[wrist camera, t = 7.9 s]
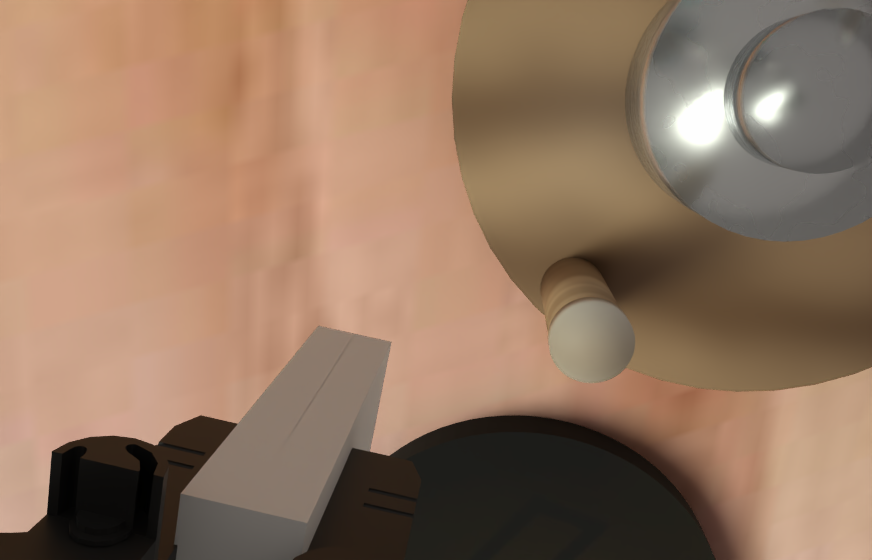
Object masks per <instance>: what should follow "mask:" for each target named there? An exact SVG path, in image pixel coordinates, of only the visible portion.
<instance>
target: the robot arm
mask: <svg viewBox="0 0 872 560" xmlns="http://www.w3.org/2000/svg"><path fill="white" fill-rule="evenodd" d="M390 347H391V342H389V341H385V340H380V339H376V338H371V337H367V336H362V335H358V334H353V333H349V332H345V331H340V330H336V329H331V328H327V327H322V326H318V327H317V328H316V329H315V331H314V332H313V333H312V334H311V336H310V337H309V338H308V339H307V340H306V342H305V343H304V344H303V345H302V346H301V348H300V349H299V350H298V351H297V353H296V354H295V355H294V356H293V357H292V359H291V360H290V361H289V362H288V364H287V365H286V366H285V367H284V368H283V370H282V371H281V372H280V373H279V374H278V376H277V377H276V378H275V379H274V381H273V382H272V383H271V384H270V385H269V387H268V388H267V389H266V390H265V391H264V393H263V394H262V395H261V396H260V398H259V399H258V400H257V401H256V402H255V404H254V405H253V406H252V407H251V409H250V410H249V411H248V412H247V413H246V415H245V416H244V417H243V418H242V419H241V421H240V422H239V423H238V424H236V423H232V422H227V421H223V420H219V419H214V418H210V417H205V416H198V417H196V418H193V419H191V420H188V421H186V422H184V423H181V424H179V425H176V426H174V427H173V428H172V429H171V430H170V431H169V432H168V433H167V434H166V435H165V436H164V437H163V438H162V439H161V440H160V441H159V444H158V445H155V446H154V445H152V444H149V443H147V442H144V441H141V440H138V439H135V438H127V437H119V436H100V437H88V438H84V439H80V440H76V441H72V442H69V443H67V444H65V445H63V446H61V447H59V448H57V449H55V450H54V451H52V458H51V470H50V483H49V496H48V508H47V515H46V516H45V517H44V518H43V519H41V520H40V521H39V522H38V523H37V524H36V525H35V526H34V527H33V528H32V529H30V530H29V531H28V532H20V533H0V560H404V558H405V553H406V549H407V544H408V539H409V535H410V530H411V526H412V521H413V516H414V512H415V507H416V503H417V498H418V493H419V489H420V484H421V478H420V476H419V474H418V472H417V470H416V468H415V466H414V464H413V462H412V461H408V460H404V459H399V458H395V457H391V456H386V455H382V454H378V453H373V452H370V448H371V443H372V438H373V433H374V428H375V423H376V418H377V413H378V407H379V402H380V397H381V392H382V387H383V382H384V377H385V372H386V367H387V362H388V357H389V352H390Z"/></svg>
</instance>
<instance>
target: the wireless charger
mask: <svg viewBox="0 0 872 560" xmlns="http://www.w3.org/2000/svg"><path fill="white" fill-rule="evenodd" d="M390 456H391V457H395V458H399V459H404V460H408V461H412V462H413V464H414V466H415V468H416V470H417V472H418V474H419V476H420V478H421V484H420V489H419V493H418V498H417V503H416V507H415V512H414V516H413V521H412V526H411V530H410V535H409V539H408V544H407V549H406V553H405V558H404V560H715V557H714V555H713V553H712V551H711V548H710V546H709V544H708V542H707V539H706V537H705V535H704V533H703V531H702V529H701V526H700V524H699V522H698V520H697V519H696V517H695V515H694V513H693V511H692V510H691V508H690V507H689V505H688V504H687V502H686V501H685V499H684V498H683V496H682V495H681V494H680V493H679V491H678V490H677V489H676V487H675V486H674V485H673V484H672V483H671V482H670V481H669V480H668V479H667V478H666V477H665V476H664V475H663V474H662V473H661V472H660V471H659V470H658V469H657V468H656V467H655V466H653V465H652V464H651V463H650V462H648V461H647V460H646V459H645V458H643V457H642V456H641V455H639V454H638V453H636V452H635V451H633V450H632V449H630V448H628V447H627V446H625V445H623V444H621V443H620V442H618V441H616V440H614V439H612V438H610V437H608V436H606V435H603V434H601V433H599V432H596V431H594V430H591V429H588V428H586V427H583V426H579V425H576V424H573V423H569V422H565V421H560V420H555V419H550V418H542V417H534V416H494V417H485V418H478V419H472V420H467V421H463V422H459V423H455V424H452V425H449V426H446V427H442V428H440V429H437V430H435V431H432V432H430V433H427V434H425V435H423V436H421V437H419V438H417V439H415V440H413V441H412V442H410V443H408V444H407V445H405V446H403V447H401V448H400V449H399V450H397V451H396V452H394V453H393V454H392V455H390Z"/></svg>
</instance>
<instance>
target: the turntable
mask: <svg viewBox="0 0 872 560" xmlns="http://www.w3.org/2000/svg"><path fill="white" fill-rule="evenodd" d="M667 1H668V0H468V1H467V4H466V8H465V11H464V14H463V17H462V22H461V28H460V33H459V38H458V43H457V48H456V54H455V61H454V76H453V92H452V107H453V123H454V139H455V144H456V149H457V155H458V160H459V165H460V170H461V175H462V179H463V182H464V185H465V188H466V191H467V194H468V197H469V200H470V203H471V206H472V209H473V212H474V215H475V217H476V219H477V221H478V223H479V225H480V227H481V229H482V231H483V233H484V236H485V238H486V240H487V242H488V244H489V246H490V248H491V249H492V251H493V252H494V254H495V255H496V257H497V259H498V260H499V262H500V263H501V265H502V266H503V268H504V269H505V271H506V272H507V274H508V275H509V277H510V278H511V280H512V281H513V282H514V283H515V284H516V285H517V286H518V288H519V289H520V290H521V291H522V292H523V293H524V294H525V296H526V297H527V298H528V299H529V300H530V301H531V302H532V304H533V305H534V306H535V307H536V308H537V309H538V310H539V311H541V312H542V313H543V314H544V315H545V319H546V324H547V329H548V343H549V349H550V354H551V357H552V359H553V361H554V363H555V364H556V366H557V367H558V368H559V370H560V371H561V372H563V373H564V374H565V375H566V376H568V377H570V378H572V379H574V380H576V381H579V382H584V383H598V382H603V381H607V380H609V379H611V378H613V377H615V376H617V375H618V374H619V373H621V372H622V371H623V370H624V369H625V368H628V369H630V370H633V371H636V372H639V373H642V374H645V375H648V376H651V377H653V378H656V379H659V380H662V381H667V382H672V383H676V384H681V385H686V386H690V387H695V388H701V389H713V390H724V391H735V392H741V391H774V390H782V389H789V388H795V387H802V386H809V385H815V384H819V383H823V382H826V381H830V380H834V379H837V378H841V377H845V376H849V375H852V374H855V373H858V372H860V371H863V370H865V369H868V368H871V367H872V217H871V218H869V219H868V220H866V221H864V222H863V223H861V224H858V225H856V226H854V227H851V228H849V229H847V230H844V231H842V232H839V233H835V234H832V235H829V236H825V237H821V238H816V239H810V240H804V241H787V242H781V241H767V240H761V239H756V238H751V237H746V236H743V235H740V234H737V233H734V232H731V231H728V230H726V229H724V228H722V227H720V226H718V225H716V224H714V223H712V222H710V221H709V220H707V219H705V218H704V217H702V216H700V215H699V214H697V213H695V212H694V211H692V210H690V209H689V208H687V207H685V206H683V205H682V204H680V203H679V202H677V201H676V200H675V199H673V198H672V197H670V196H669V195H668V194H667V193H665V192H664V191H663V190H662V189H661V188H660V187H659V186H658V185H657V184H656V183H655V182H654V181H653V179H652V178H651V177H650V176H649V174H648V173H647V172H646V170H645V169H644V167H643V165H642V164H641V162H640V161H639V159H638V157H637V154H636V152H635V150H634V147H633V145H632V142H631V139H630V135H629V132H628V128H627V121H626V114H625V91H626V82H627V76H628V72H629V68H630V64H631V60H632V58H633V55H634V53H635V50H636V47H637V45H638V43H639V41H640V39H641V37H642V35H643V33H644V31H645V30H646V28H647V27H648V25H649V24H650V22H651V21H652V19H653V18H654V16H655V15H656V14H657V13H658V11H659V10H660V9H661V8H662V7H663V6H664V5H665V4H666V2H667Z"/></svg>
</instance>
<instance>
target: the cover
mask: <svg viewBox="0 0 872 560" xmlns="http://www.w3.org/2000/svg"><path fill="white" fill-rule="evenodd" d="M625 114H626V121H627V128H628V132H629V135H630V139H631V142H632V145H633V147H634V150H635V152H636V154H637V157H638V159H639V161H640V162H641V164H642V165H643V167H644V169H645V170H646V172H647V173H648V174H649V176H650V177H651V178H652V179H653V181H654V182H655V183H656V184H657V185H658V186H659V187H660V188H661V189H662V190H663V191H664V192H665V193H667V194H668V195H669V196H670V197H672V198H673V199H675V200H676V201H677V202H679V203H680V204H682V205H683V206H685V207H687V208H689V209H690V210H692V211H694V212H695V213H697V214H699V215H700V216H702V217H704V218H705V219H707V220H709V221H710V222H712V223H714V224H716V225H718V226H720V227H722V228H724V229H726V230H728V231H731V232H734V233H737V234H740V235H743V236H746V237H751V238H756V239H761V240H767V241H781V242H787V241H804V240H810V239H816V238H821V237H825V236H829V235H832V234H835V233H839V232H842V231H844V230H847V229H849V228H851V227H854V226H856V225H858V224H861V223H863V222H864V221H866V220H868V219H869V218H871V217H872V0H668V1H667V2H666V4H665V5H664V6H663V7H662V8H661V9H660V10H659V11H658V13H657V14H656V15H655V16H654V18H653V19H652V21H651V22H650V24H649V25H648V27H647V28H646V30H645V31H644V33H643V35H642V37H641V39H640V41H639V43H638V45H637V47H636V50H635V53H634V55H633V58H632V60H631V64H630V68H629V72H628V76H627V82H626V91H625Z"/></svg>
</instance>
